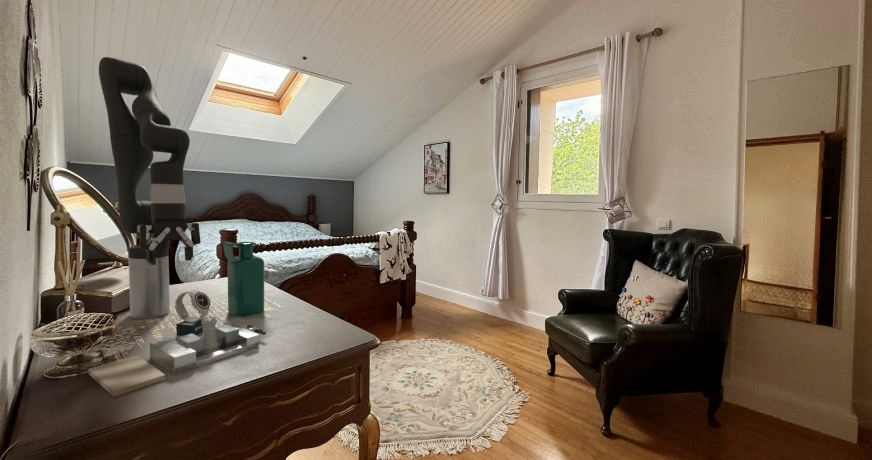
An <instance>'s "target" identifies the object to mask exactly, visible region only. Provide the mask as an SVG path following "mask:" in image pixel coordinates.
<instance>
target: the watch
mask: <svg viewBox="0 0 872 460" xmlns="http://www.w3.org/2000/svg"><path fill="white" fill-rule="evenodd" d="M186 295H189V298H190V302H191V305H192V307H193V308H194V309H195V310H196V311H197V312H198V314H199V315H200V316H199V317H194V316H192V317H190V314H189V312H188V311H187V309H186V306H185V304H184V302H183V299H184V297H185V296H186ZM174 303H175V306H174V308H175V311H176V313H177V316H178V317H179V319H180V320H182V321H179V322H178V323H176V328H175V329H176V331H175V332H176V337H181V336H185V335H188V334H194V335H196V336H199V335H200V334H203V330H202V329H203V325H202V324H201V322H202V321H203V318H205V317H207V315H208V314H209V311H210V307H211V299H210V297H209V296H208V295H207V294H206V293H205V292H202V291H200V290H195V289H193V290H188V291H185V292H182V293H180V294H179V295H178V296H177V297H176V299H175V302H174Z"/></svg>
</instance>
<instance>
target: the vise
mask: <svg viewBox="0 0 872 460" xmlns="http://www.w3.org/2000/svg"><path fill="white" fill-rule="evenodd" d="M215 332H216V338H217V339H218V341H219V342H220V346H219V347H220V350H219V351H216V352H213V353H210V354H207V355H203V339H202V338H203V337H200V336H199V335H194V334H188V335H185V336H177V340H176V339H175V338H174V337H167V338H163V339H160V340H156V341H152V342H149V359H151V360H152V361H154V362H155V363H157V364H158V365H160V366H162V368H164V369H166V370H168V371H169V372H171V373H172V374H173V375H177V374H180V373H183V372H187V371H189V370H192V369H195V368H198V367H202V366H205V365H207V364H208V365H209V364H210V363H213V362H217V361H219V360H223V359H226V358H229V357H231V356H235V355H238V354H241V353H243V352H246V351H250V350H253V349H256V348H260V335H262V336H264V335H266V334H267V332H266V330H264V329H261V328H258V327H257V326H254V325H251V324H247V325H246V328H244V327H242V326H239V325H237V324H235V323H230V324H228V323H227V324H224V325H221V326H220V325H219V326H216V329H215Z"/></svg>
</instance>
